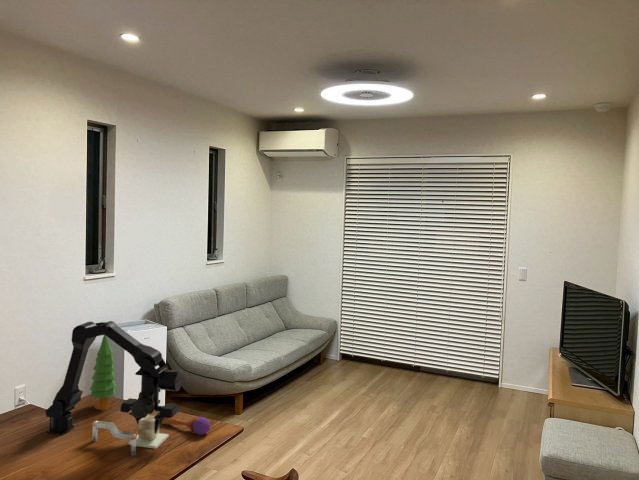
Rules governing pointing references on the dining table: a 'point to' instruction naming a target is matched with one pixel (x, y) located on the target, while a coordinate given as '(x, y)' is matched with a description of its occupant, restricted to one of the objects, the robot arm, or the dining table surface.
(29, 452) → the dining table surface
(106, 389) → the decorative tree
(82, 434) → the dining table surface
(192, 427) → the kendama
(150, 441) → the sage pad
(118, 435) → the steel handle
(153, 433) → the birch block
